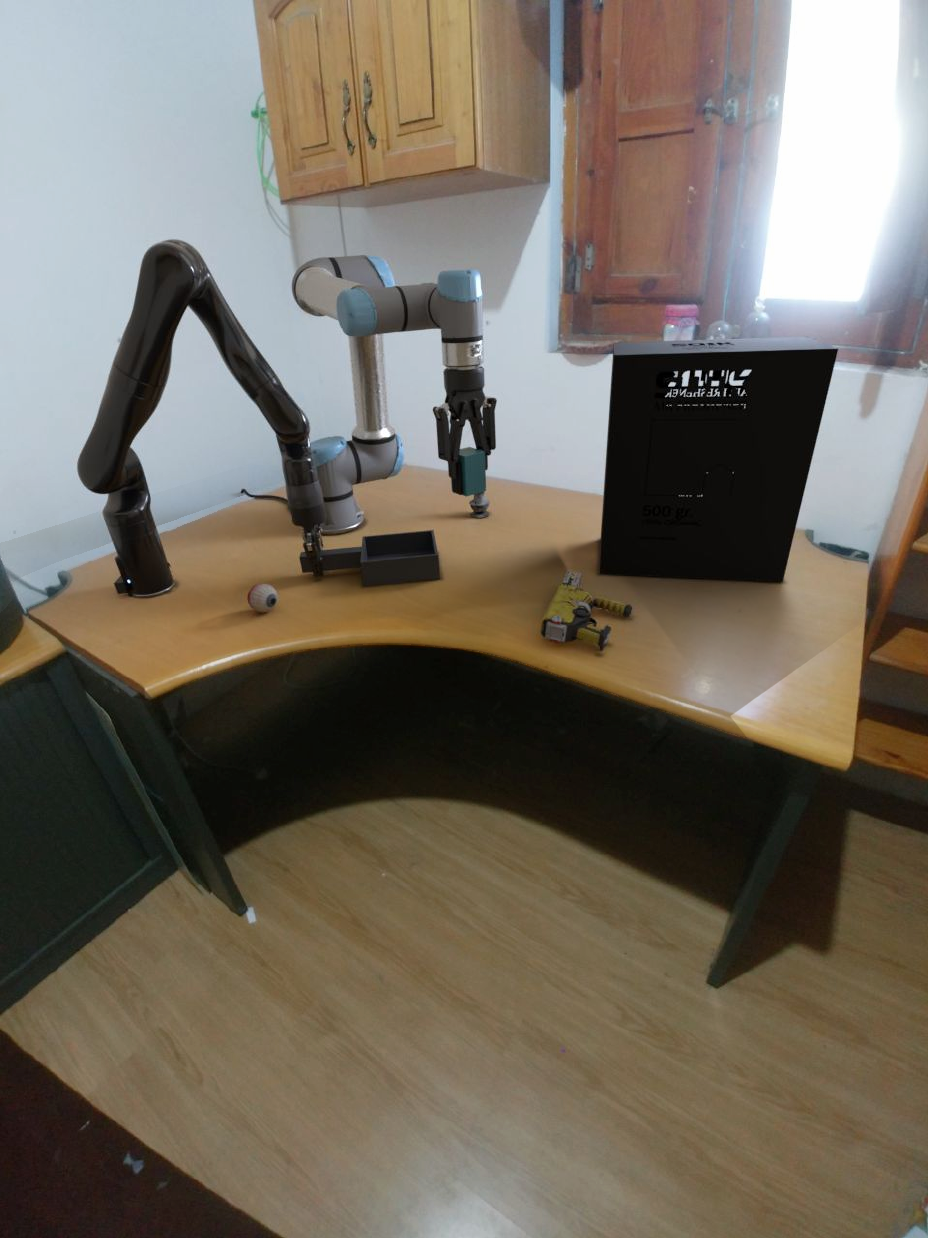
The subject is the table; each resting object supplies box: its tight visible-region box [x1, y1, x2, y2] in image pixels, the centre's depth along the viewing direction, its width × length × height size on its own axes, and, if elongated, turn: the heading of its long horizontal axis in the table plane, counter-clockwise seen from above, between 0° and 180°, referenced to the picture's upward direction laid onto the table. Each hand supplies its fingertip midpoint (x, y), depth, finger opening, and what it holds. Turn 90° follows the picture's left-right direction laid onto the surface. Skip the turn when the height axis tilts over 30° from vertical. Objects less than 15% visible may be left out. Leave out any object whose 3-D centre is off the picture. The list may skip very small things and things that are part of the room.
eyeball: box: [246, 583, 279, 613], centre depth 126 cm, size 6×6×6 cm
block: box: [450, 446, 487, 498], centre depth 120 cm, size 5×5×8 cm
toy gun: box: [540, 570, 633, 652], centre depth 116 cm, size 5×24×15 cm
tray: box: [298, 529, 441, 587], centre depth 140 cm, size 31×15×6 cm, turn 97°
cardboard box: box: [598, 335, 839, 583], centre depth 128 cm, size 38×20×45 cm, turn 78°
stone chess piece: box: [468, 491, 491, 519], centre depth 168 cm, size 6×6×12 cm
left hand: (319, 572), depth 140 cm, fingers closed on tray, 3 cm apart
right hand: (469, 489), depth 122 cm, fingers closed on block, 5 cm apart
